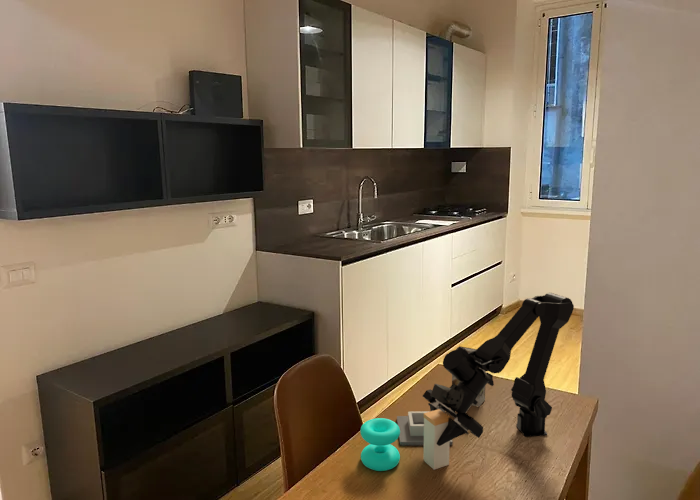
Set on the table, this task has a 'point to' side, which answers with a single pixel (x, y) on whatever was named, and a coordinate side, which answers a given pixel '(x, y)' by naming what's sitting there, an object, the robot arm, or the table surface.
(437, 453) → the plug
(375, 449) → the donuts
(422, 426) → the socket
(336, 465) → the table surface
